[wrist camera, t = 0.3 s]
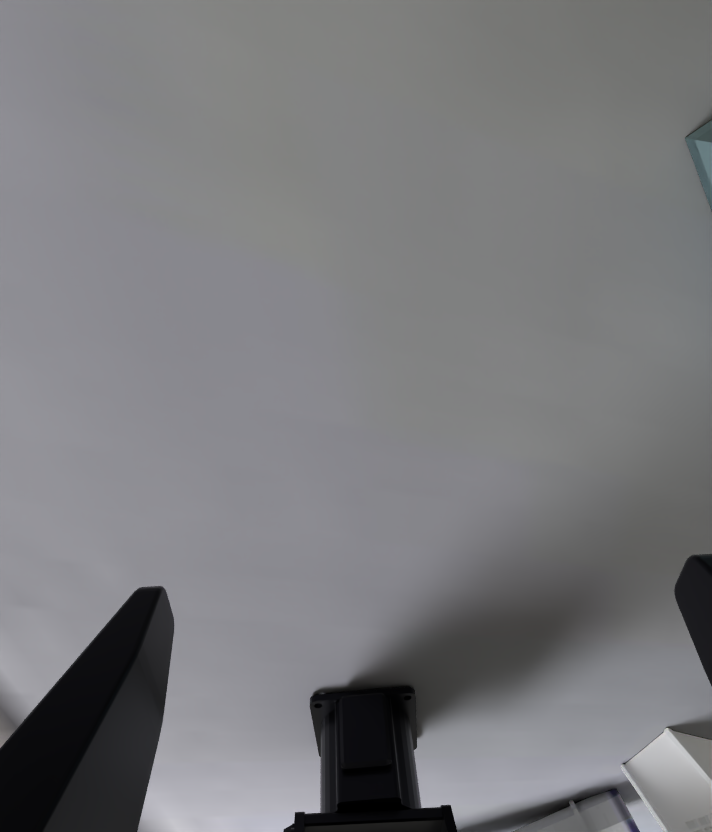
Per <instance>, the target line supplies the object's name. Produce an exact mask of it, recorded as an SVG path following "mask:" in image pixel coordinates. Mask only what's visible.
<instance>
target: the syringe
mask: <svg viewBox="0 0 712 832" xmlns="http://www.w3.org/2000/svg"><path fill="white" fill-rule="evenodd" d="M569 804H570V806H569V807H567V808H564V809H562V810H560V811H558V812H555V813H553V814H551V815H549V816H547V817H544V818H542V819H540V820H538V821H535V822H533V823H531V824H529V825H526V826H524V827H522V828H520V829H517V830H515V831H513V832H640V831H639V829H638V827H637V826H636V824H635V822H634V820H633V818H632V816H631V814H630V812H629V810H628V809H627V807H626V805H625V803H624V801H623V800H622V798H621V796H620V794H619V793H618V791H617V790H616V789H613V790H610V791H607V792H604V793H601V794H598V795H595V796H592V797H589V798H587V799H585V800H582V801H580V802H578V803H576V804H574V802H573V800H571V801H569Z"/></svg>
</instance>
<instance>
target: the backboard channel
mask: <svg viewBox="0 0 712 832" xmlns="http://www.w3.org/2000/svg"><path fill="white" fill-rule="evenodd" d="M685 139H686V142H687V145H688V147H689V150H690V153H691V156H692V158H693V161H694V164H695V167H696V169H697V172H698V175H699V177H700V180H701V183H702V186H703V188H704V191H705V194H706V196H707V199H708V202H709V205H710V207H711V210H712V120H711V121H709V122H708V123H706V124H705V125H704V126H702V127H701V128H699V129H698V130H696V131H695V132H693V133H692V134H690V135H689V136H687V137H686V138H685Z"/></svg>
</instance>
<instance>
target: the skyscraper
mask: <svg viewBox="0 0 712 832" xmlns="http://www.w3.org/2000/svg"><path fill="white" fill-rule="evenodd" d="M663 731H664V732H663V733H662V734H661V735H660V736H659V737H657V738H656V739H655V740H654V741H652V742H651V743H650V744H649V745H648V746H646V747H645V748H644V749H643V750H642V751H640V752H639V753H638V754H637V755H635V756H634V757H633V758H632V759H631V760H629V761H628V762H627V763H626V764H622V765H621V769H622V770H623V772H624V773H625V775H626V776H627V778H628V779H629V781H630V782H631V784H632V785H633V787H634V788H635V790H636V791H637V793H638V794H639V796H640V797H641V799H642V800H643V802H644V803H645V805H646V806H647V807H648V809H649V810H650V812H651V813H652V815H653V816H654V818H655V819H656V821H657V822H658V824H659V825H660V827H661V828H662V830H663V831H664V832H712V740H709V739H705V738H700V737H696V736H692V735H688V734H684V733H680V732H675V731H672V730H671V729H670V728H666V729H664V730H663Z"/></svg>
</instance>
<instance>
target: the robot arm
mask: <svg viewBox="0 0 712 832" xmlns="http://www.w3.org/2000/svg"><path fill="white" fill-rule="evenodd" d="M675 598H676V601H677V604H678V606H679V609H680V611H681V613H682V616H683V618H684V621H685V623H686V626H687V628H688V631H689V633H690V636H691V638H692V640H693V643H694V645H695V648H696V650H697V653H698V655H699V658H700V660H701V663H702V665H703V667H704V670H705V672H706V674H707V677H708V679H709V681H710V683H711V685H712V554H702V555H692V556H690V557H689V558H688V559H687V560H686V562H685V565H684V567H683V569H682V571H681V573H680V576H679V578H678V580H677V582H676V585H675ZM173 635H174V617H173V614H172V610H171V607H170V603H169V600H168V596H167V593H166V590H165V589H164V588H163V587H161V586H153V587H141V588H139V589H137V590H136V591H135V592H134V593H133V594H132V595H131V596H130V597H129V599H128V600H127V601H126V602H125V603H124V604H123V606H122V607H121V608H120V609H119V610H118V612H117V613H116V614H115V615H114V616H113V617H112V619H111V620H110V621H109V622H108V623H107V624H106V626H105V627H104V628H103V629H102V630H101V631H100V633H99V634H98V635H97V636H96V637H95V638H94V640H93V641H92V642H91V643H90V644H89V645H88V647H87V648H86V649H85V650H84V651H83V652H82V654H81V655H80V656H79V657H78V658H77V659H76V661H75V662H74V663H73V664H72V665H71V666H70V668H69V669H68V670H67V671H66V672H65V673H64V675H63V676H62V677H61V678H60V679H59V680H58V682H57V683H56V684H55V685H54V686H53V687H52V689H51V690H50V691H49V692H48V693H47V694H46V696H45V697H44V698H43V699H42V700H41V701H40V703H39V704H38V705H37V706H36V707H35V708H34V710H33V711H32V712H31V713H30V714H29V715H28V717H27V718H26V719H25V720H24V721H23V722H22V724H21V725H20V726H19V727H18V728H17V729H16V731H15V732H14V733H13V734H12V735H11V736H10V738H9V739H8V740H7V741H6V742H5V743H4V745H3V746H2V747H1V748H0V832H137V830H138V825H139V821H140V817H141V813H142V809H143V804H144V800H145V796H146V792H147V787H148V783H149V779H150V775H151V771H152V766H153V762H154V758H155V754H156V749H157V745H158V741H159V736H160V732H161V727H162V722H163V715H164V707H165V699H166V691H167V683H168V675H169V667H170V659H171V651H172V643H173ZM310 710H311V715H312V720H313V725H314V731H315V736H316V741H317V746H318V752H319V756H320V757H321V813H311V814H305V812H295V822H294V824H292V825H291V826H289V827H287V828H286V829H284V832H457V829H456V825H455V821H454V817H453V813H452V809H451V805H441V807H437V808H421V802H420V794H419V787H418V779H417V772H416V764H415V757H414V750H415V749H416V748H417V731H416V696H415V690H414V689H413V688H411V687H400V688H389V689H377V690H366V691H355V692H343V693H332V694H320V695H314V696H312V697H311V698H310Z"/></svg>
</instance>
